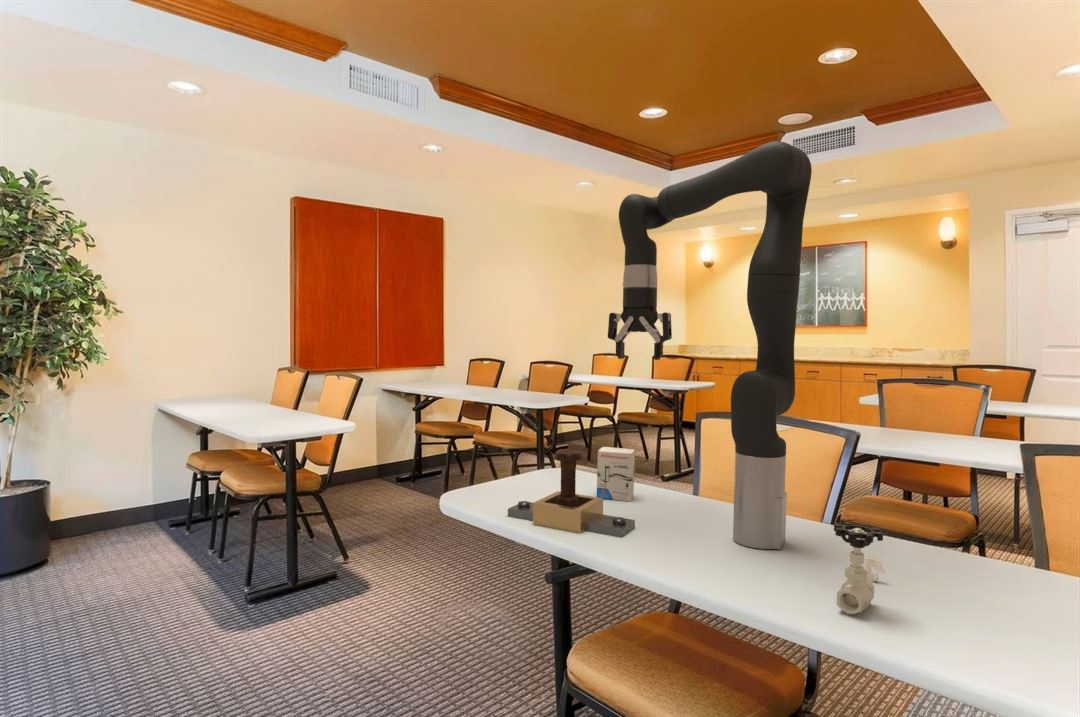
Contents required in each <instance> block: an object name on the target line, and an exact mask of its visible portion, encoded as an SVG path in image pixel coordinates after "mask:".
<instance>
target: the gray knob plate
mask: <svg viewBox="0 0 1080 717" xmlns="http://www.w3.org/2000/svg"><path fill="white" fill-rule="evenodd" d="M635 524H636V520H635V519H631V518H630V519H629V518H627V517H622V516H621V517H620V516H614V515H613V516H612V515H608V514H604V513H603V514H598V515H597V516H595V517H593V518H592V519H590V520H588V521H587V522H585V532H591V533H597V534H602V535H608V536H612V537H618V538H623V537H624V536H626V535H627V534H628V533H630V532H631V531H633V529H635V528H636V526H635Z"/></svg>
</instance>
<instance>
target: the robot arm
mask: <svg viewBox="0 0 1080 717" xmlns="http://www.w3.org/2000/svg"><path fill="white" fill-rule="evenodd" d="M812 172H813V171H812V162H811V160H810V158H809V156H808V155H807V153H806V152H804V151H803V150H802V149H800V148H798V147H796V146H794V145H792V144H790V143H787V142H784V141H781V140H776V141H775V140H774V141H770V142H767V143H764V144H762V145H760V146H758V147H756V148H753V150H750V151H748V152H747V153H745V154H743V155H742V156H740V157H737V158H736V159H733V160H732V161H729V162H728V163H725V164H723V165H722V166H720V167H717V168H715V169H712V170H710V171H708V172H706V173H705V172H704V174H700V175H698V176H695V177H691V178H690V179H686V180H683V181H680V182H678V183H674V184H671V185H668V186H666V187H664V188H662V189H661V191H660V192H659V193H658V194H657V195H658V196H652V197H650V196H646V195H642V194H638V193H631V194H628V195H626V196H625V197H624V199H623V200H622V202H621V203H620V205H619V209H618V221H619V229H620V232H621V236H622V241H623V245H624V272H623V276H622V278H623V279H622V312H621V313H616V312H610V313H609V315H608V328H607V338H608V339H609V340H612V341H614V342H615V355H616V357H617V358H618V360H623V359H625V342H624V341H625V339H626V338H627V336H628V335H630V334H631V333H639V332H640V333H648V334H649V335H650V336H651V337H652V339H653V341H654V343H653V344H654V346H653V349H654V350H653V359H654V360H655V361H660V360H661V358H662V357H663V356H664V343H665V342H667V341H670V340H672V337H673V336H672V335H673V334H672V333H673V332H672V331H673V330H672V314H671V312H663V313H658V309H657V306H658V271H657V264H658V263H657V257H658V255H657V254H658V252H657V251H658V250H657V246H658V245H657V243H656V241H655V240H653V239H652V238H650V237H649V235H648V230H654V229H655V230H656V229H658V228H660V227H663V226H665V225H667V224H669V223H671V222H672V221H674V220H676V219H680V218H684V217H687V216H690V215H693V214H697V213H700V212H703V211H705V210H707V209H709V208H711V207H712V206H714V205H715V204H717V203H718V202H720V201H722V200H724V199H726V198H729V197H731V196H734V195H739V194H745V193H751V192H753V193H754V192H762V193H764V194H766V195H765V196H766V208H765V209H766V212H765V221H764V227H763V230H762V234H761V236H760V238H759V240H758V242H757V245H756V246H755V249H754V251H753V253H752V257H751V260H750V263H749V267H748V268H749V269H748V275H747V286H746V288H747V289H746V303H747V304H746V305H747V308H748V312H749V315H750V318H751V322H752V326H753V329H754V332H755V335H756V340H757V354H756V355H757V356H756V357H757V358H756V367H755V369H754V370H747V371H745V372H742V373H741V374H739V375H738V376H737V377H736V378H735V380H734V382H733V385H732V388H731V391H730V392H731V393H730V426H731V427H730V429H731V435H732V439H733V442H734V448H735V450H734V454H735V455H734V484H733V485H734V487H733V488H734V489H733V517H732V518H733V520H732V523H733V524H732V525H733V526H732V539H733V541H734V542H736V543H737V544H740V545H742V546H744V547H749V548H753V549H761V550H781V549H782V548H783V545H785V542H786V535H787V534H786V533H787V532H786V531H787V529H786V528H787V498H788V497H787V496H788V495H787V494H788V493H787V492H786V468H787V467H786V464H787V443H786V442H787V441H786V440H785V439H784V438H783V437H781V436H780V435H779V433H778V430H777V429H778V428H777V417H779V416H782V415H784V414H785V413H787V412H788V411H789V409H790V408H791V407H792V406H793V403H794V401H795V396H796V370H795V368H796V366H795V338H796V328H797V314H798V313H797V311H798V300H799V292H800V279H801V277H800V276H801V258H802V247H803V232H804V231H803V229H804V228H803V226H804V218H805V214H806V213H805V212H806V207H807V202H808V197H809V190H810V186H811V180H812ZM658 320H659V322H660V323H661V325H662V334H661V333H660V330H659V328H658V327H657V326H656V325H655V323H657V322H658ZM620 321H622V322H623V325H622V326H621V328H620V330H619V332H618V325H619V324H618V323H620Z"/></svg>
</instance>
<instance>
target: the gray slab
mask: <svg viewBox="0 0 1080 717" xmlns="http://www.w3.org/2000/svg"><path fill="white" fill-rule="evenodd" d="M533 503H534V502H531V501H528V500H526V501H525V500H521V501H520V500H519V501H518V503H517V504H515V505H513V506H511V507H509V508H507V517H509V518H510V517H512V518H516V519H520V520H521V519H522V520H527V521H532V522H533Z"/></svg>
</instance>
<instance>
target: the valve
mask: <svg viewBox="0 0 1080 717" xmlns="http://www.w3.org/2000/svg"><path fill="white" fill-rule="evenodd" d="M833 531H834V532H835V536H836V537H841V539H842V540H843V542H845V543H847V544H849V546H851V547H853V550H852V551H850V553H849V562H850V563H851V564H850V565H849V566H847V567H845V570H844V571H845V572H844V576H845V577H846V578H847V581H845V582H843V584H842V585H841V587H840V589H839V590H838V591H837V592H836V606H837V607H838V608H840V609H841V610H842V611H843V612H844V613H846V614H847V613H848V614H851V615H855V614H858V613H859V614H860V613H862V612H863V611H864V610H865V609H867V608H869V606H870V605H871V603H872V601H873V599H874V598H875V597H874V596H875V585H874V584H873V582H870V581H868V580H867V579H868V572H867V571H866V570H864V567H863V566H862V565H863V563H864V556H865V553H863V552H862V549H865V548H866V547H870V545H872V543H874V538H877V539H876V541H878V542H882V541H883V540H884V532H881V528H879V527H868V524H867V523H859V524H853V523H852V522H850V521H844V522H843V525H842V524H841V523H833ZM848 614H847V615H848Z"/></svg>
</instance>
